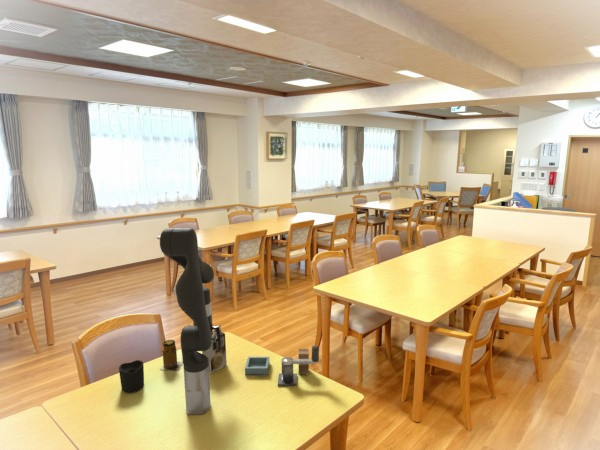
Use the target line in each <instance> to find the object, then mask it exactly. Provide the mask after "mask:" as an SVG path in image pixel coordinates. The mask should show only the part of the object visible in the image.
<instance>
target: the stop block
mask: <svg viewBox="0 0 600 450" xmlns="http://www.w3.org/2000/svg"><path fill="white" fill-rule="evenodd" d="M309 353H310V351H309V348H298V359H310V355H309ZM309 365H310V364H298V375H299V374H309V372H310V371H309V370H310V368H309V367H310V366H309ZM309 375H310V374H309Z"/></svg>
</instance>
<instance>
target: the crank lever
mask: <svg viewBox="0 0 600 450" xmlns="http://www.w3.org/2000/svg"><path fill="white" fill-rule="evenodd" d="M319 351H320V346H319V345H312V346H311V358H309V359H299V358H293V357H291V356H284V357H282V358H281V366H282V365H284V366H291V365H293V366H294V365H299V364H309V365H316V363H317V362H319V360H320V352H319Z"/></svg>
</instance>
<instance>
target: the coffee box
mask: <svg viewBox="0 0 600 450" xmlns="http://www.w3.org/2000/svg"><path fill="white" fill-rule="evenodd" d="M213 332H214V334H215V336H216V337H217V332H216V331H215V330H213ZM221 335H222V338H221V340H220V341H217V349H216V350H213V341H212V342H211V346H210V348H209V349H208V350H206V351H201V354H204V355H206V356H207V357H208V361H209V374H213V373H215V372H217V371H218V370H220V369H222V368H224V367H226V366H227V348H226V347H227V346H226V333H225V332H223V331H221Z"/></svg>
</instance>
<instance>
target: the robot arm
mask: <svg viewBox="0 0 600 450" xmlns="http://www.w3.org/2000/svg"><path fill="white" fill-rule="evenodd" d="M159 248H160V250H161V252H162V253H163V255H164V256H165V257H168V258H169V259H171V260H172V261H174V262H175V263H177V264H178V265H180V266H181V267H182V268H183V269H184V270H183V271H182V273H181V275H180V277H179V278H178V280H177V282H176V284H175V295H176V300H177V304H178V306H179V309H181V311H182V312H183V313H185V315H187V317H188V318H190V319H191V320H192V325H190V324H187V325H185V326H184V327H182V329H181V332H180V349H181V356H182V357H181V358H182V362H183V364H182V366H183V376H184V377H183V378H184V397H185V411H186V413H187V415H204V414H205V413H206V412H208V410H210V408H211V387H210V386H211V385H210V372H209V361H208V357H207V356H206V355H204V354H202V351H206V350H208V349H209V348H210V346H211V342H212V341H213V350H216V349H217V341H220V340H221V338H222V335H221V332H222V327H221V325H220V324H217V326H215V325H213V310H212V309H213V308H212V302H211V291H210V289H209V288H208V287H205V286H204V285H203V284H209V283H211V282H212V281H213V280H214V277H215V271H214V269H213V267H212V266H211V265H210V264H209V263H207V262H205V261H203V260H202V258H201V256H200V255H199V241H198V236H197V233H196V230H195V229H194V228H193V227H192V228H191V227H168V228H164V229H163V230H162V231H161V233H160V236H159ZM213 331H216V332H217V337H216V336H215V334H214V332H213Z"/></svg>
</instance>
